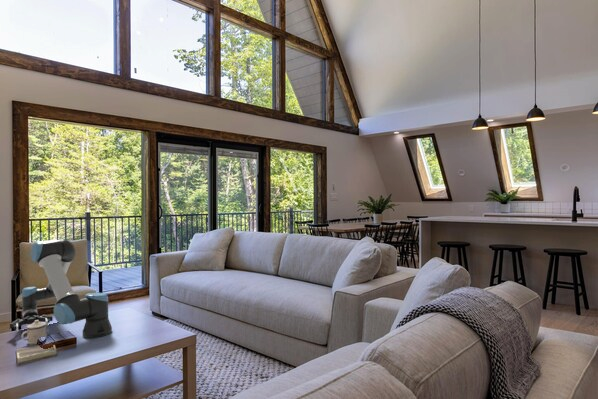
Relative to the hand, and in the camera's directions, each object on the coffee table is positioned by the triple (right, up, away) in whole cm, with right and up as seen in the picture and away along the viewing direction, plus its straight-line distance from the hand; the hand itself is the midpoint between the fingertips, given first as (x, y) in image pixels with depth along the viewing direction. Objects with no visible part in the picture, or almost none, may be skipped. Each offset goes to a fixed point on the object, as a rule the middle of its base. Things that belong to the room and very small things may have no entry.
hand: (32, 326), depth 212 cm
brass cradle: (+20, -6, -25) cm, 32 cm away
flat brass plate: (+16, -7, -20) cm, 27 cm away
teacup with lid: (+5, -7, -5) cm, 10 cm away
